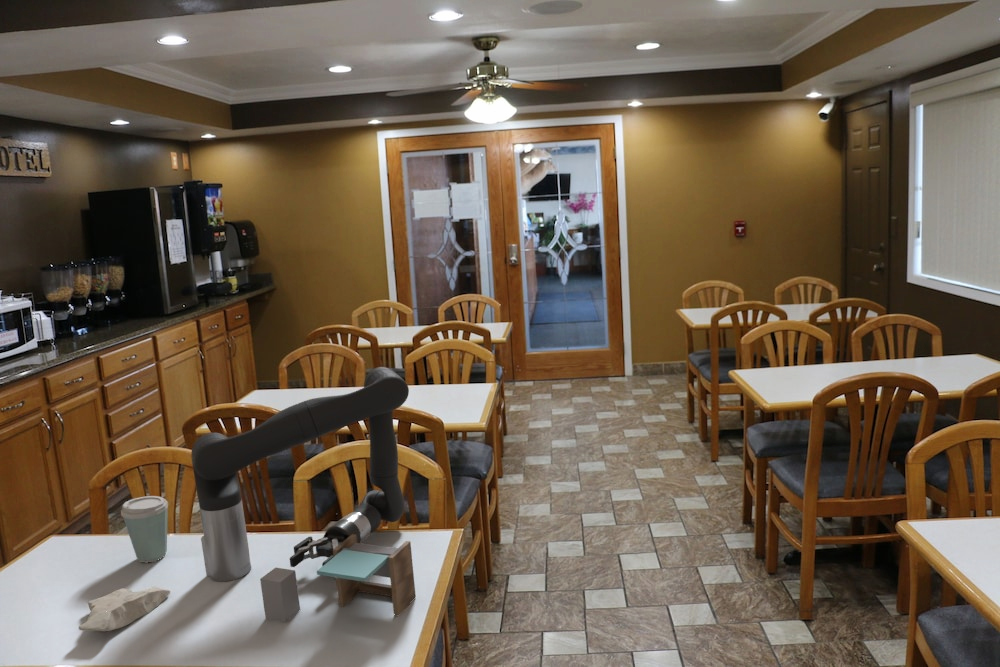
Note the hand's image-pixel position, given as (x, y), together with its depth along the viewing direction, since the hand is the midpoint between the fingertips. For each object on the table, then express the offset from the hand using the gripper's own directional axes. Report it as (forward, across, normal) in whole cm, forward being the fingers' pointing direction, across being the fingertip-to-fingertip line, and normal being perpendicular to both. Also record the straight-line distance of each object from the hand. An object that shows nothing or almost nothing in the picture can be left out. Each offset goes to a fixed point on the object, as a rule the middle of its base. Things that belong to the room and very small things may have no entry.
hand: (307, 565), depth 173 cm
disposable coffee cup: (-3, -49, +6) cm, 50 cm away
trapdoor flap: (+5, +17, 0) cm, 18 cm away
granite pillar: (+10, 0, +6) cm, 11 cm away
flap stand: (0, +17, +6) cm, 18 cm away
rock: (+20, -35, +6) cm, 41 cm away
